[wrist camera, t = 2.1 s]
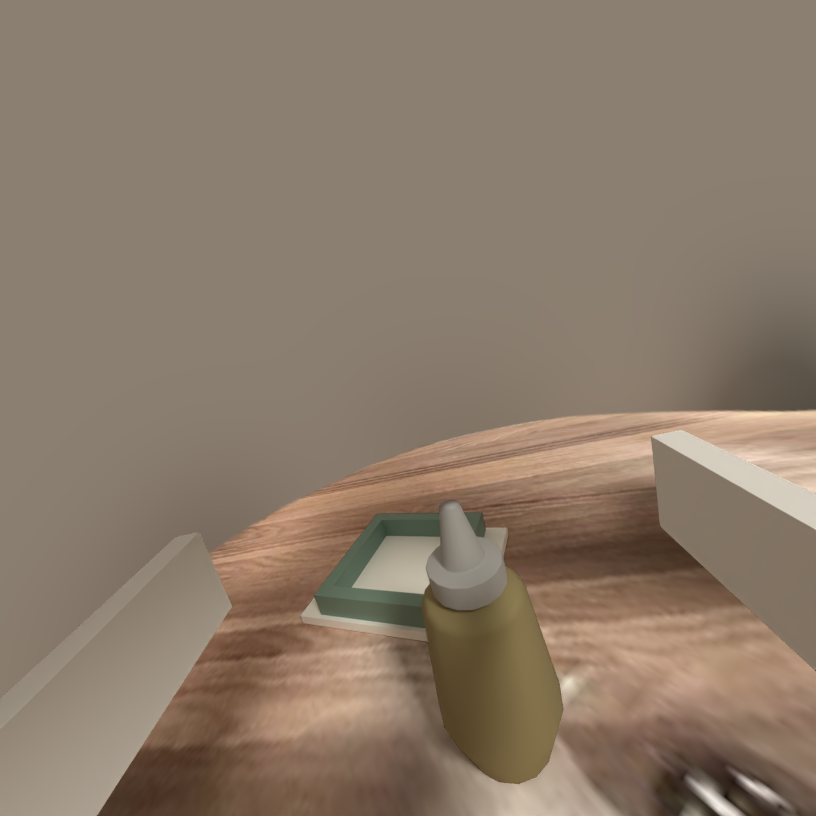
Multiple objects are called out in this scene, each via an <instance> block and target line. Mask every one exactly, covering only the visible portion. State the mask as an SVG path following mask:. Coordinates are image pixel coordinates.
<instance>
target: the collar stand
mask: <svg viewBox="0 0 816 816" xmlns="http://www.w3.org/2000/svg"><path fill="white" fill-rule="evenodd" d="M464 514H465V516H466V518H467V520H468V521H469V523H470V525H471V527H472V529H473V531H474V533H475V535H476V536H477V537H482V538H486V539H488V540H490V541H492V542H493V543H495V544H497V546H498V547H499V549H500V550H501V552H502V554H503V557H504V553H505V548H506V544H507V539H508V530H507V528H486V527H485V523H484V519H483V515H482V512H479V513H464ZM439 546H440V518H439V513H394V514H376V515H375V517H374V518H373V519H372V521H371V522H370V523H369V524H368V526H367V527H366V528H365V530H364V531H363V532H362V534H361V535H360V536H359V537H358V539H357V540H356V541H355V543H354V544H353V545H352V547H351V548H350V549H349V550H348V552H347V553H346V554H345V556H344V557H343V558H342V559H341V561H340V562H339V563H338V565H337V566H336V567H335V569H334V570H333V571H332V572H331V574H330V575H329V576H328V578H327V579H326V580H325V582H324V583H323V584H322V585H321V587H320V588H319V589H318V591H317V592H316V593H315V594H314V598H313V600H312V601H311V602H310V604H309V605H308V606H307V608H306V609H305V610H304V611H303V613H302V614H301V615H300V617H301V619H302V622H303V623H305V624H311V625H318V626H325V627H332V628H338V629H345V630H352V631H359V632H365V633H372V634H379V635H386V636H392V637H399V638H406V639H413V640H419V641H426V642H428V640H427V635H426V629H425V624H424V618H423V612H422V607H421V604H422V600H423V596H424V591H425V589H426V588H427V586H428V585H429V584H430V582H429V578H428V575H427V571H426V564H427V561H428V557H429V556H430V555H431V554H432V552H433V551H434V550H435V549H436V548H437V547H439Z"/></svg>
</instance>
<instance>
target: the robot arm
mask: <svg viewBox="0 0 816 816" xmlns="http://www.w3.org/2000/svg"><path fill="white" fill-rule="evenodd" d="M651 441H652V451H653V461H654V471H655V481H656V491H657V501H658V512H659V522H660V527H661V528H662V529H663V530H665V531H666V532H667V533H668V534H669V535H670V536H671V537H672V538H673V539H674V540H675V541H676V542H677V543H679V544H680V545H681V546H682V547H683V548H684V549H685V550H686V551H687V552H688V553H689V554H690V555H691V556H693V557H694V558H695V559H696V560H697V561H698V562H699V563H700V564H701V565H702V566H703V567H704V568H705V569H706V570H708V571H709V572H710V573H711V574H712V575H713V576H714V577H715V578H716V579H717V580H718V581H719V582H720V583H722V584H723V585H724V586H725V587H726V588H727V589H728V590H729V591H730V592H731V593H732V594H733V595H734V596H736V597H737V598H738V599H739V600H740V601H741V602H742V603H743V604H744V605H745V606H746V607H747V608H748V609H750V610H751V611H752V612H753V613H754V614H755V615H756V616H757V617H758V618H759V619H760V620H761V621H762V622H763V623H765V624H766V625H767V626H768V627H769V628H770V629H771V630H772V631H773V632H774V633H775V634H776V635H777V636H779V637H780V638H781V639H782V640H783V641H784V642H785V643H786V644H787V645H788V646H789V647H790V648H791V649H793V650H794V651H795V652H796V653H797V654H798V655H799V656H800V657H801V658H802V659H803V660H804V661H805V662H807V663H808V664H809V665H810V666H811V667H812V668H813V669H814V670H815V671H816V494H815V493H813V492H811V491H809V490H807V489H804V488H802V487H800V486H798V485H796V484H794V483H792V482H790V481H788V480H786V479H783V478H781V477H779V476H777V475H775V474H773V473H771V472H769V471H767V470H765V469H763V468H760V467H758V466H756V465H754V464H752V463H750V462H748V461H746V460H744V459H742V458H739V457H737V456H735V455H733V454H731V453H729V452H727V451H725V450H723V449H721V448H718V447H716V446H714V445H712V444H710V443H708V442H706V441H704V440H702V439H700V438H697V437H695V436H693V435H691V434H689V433H687V432H685V431H683V430H678V431H673V432H668V433H664V434H659V435H654V436H651ZM231 607H232V605H231V603H230V601H229V598H228V596H227V594H226V592H225V589H224V587H223V585H222V582H221V580H220V578H219V576H218V573H217V571H216V569H215V567H214V564H213V562H212V560H211V557H210V555H209V553H208V551H207V549H206V546H205V544H204V542H203V539H202V537H201V535H200V533H199V532H196V533H192V534H187V535H183V536H178V537H176V538H174V539H173V540H172V541H171V542H170V543H169V544H168V545H167V546H166V547H165V548H164V549H163V550H161V551H160V552H159V553H158V554H157V555H156V556H155V557H154V558H153V559H152V560H150V561H149V562H148V563H147V564H146V565H145V566H144V567H143V568H142V569H141V570H140V571H139V572H137V573H136V574H135V575H134V576H133V577H132V578H131V579H130V580H129V581H128V582H127V583H126V584H124V585H123V586H122V587H121V588H120V589H119V590H118V591H117V592H116V593H115V594H114V595H112V597H110V598H109V599H108V600H107V601H106V602H105V603H104V604H103V605H102V606H101V607H99V608H98V609H97V610H96V611H95V612H94V613H93V614H92V615H91V616H90V617H89V618H88V619H87V620H85V622H83V623H82V624H81V625H80V626H79V627H78V628H77V629H76V630H75V631H73V632H72V633H71V634H70V635H69V636H68V637H67V638H66V639H65V640H64V641H63V642H62V643H60V645H58V646H57V647H56V648H55V649H54V650H53V651H52V652H51V653H50V654H49V655H47V656H46V657H45V658H44V659H43V660H42V661H41V662H40V663H39V664H38V665H37V666H35V667H34V668H33V669H32V670H31V671H30V672H29V673H28V674H27V675H26V676H25V677H24V678H22V679H21V680H20V681H19V682H18V683H17V684H16V685H15V686H14V687H13V688H12V689H11V690H9V691H8V692H7V694H5V695H4V696H3V697H2V698H1V699H0V816H97V815H98V813H99V812H100V810H101V809H102V807H103V806H104V804H105V803H106V801H107V799H108V798H109V796H110V795H111V793H112V792H113V790H114V789H115V787H116V785H117V784H118V782H119V781H120V779H121V778H122V776H123V775H124V773H125V772H126V770H127V768H128V767H129V765H130V764H131V762H132V761H133V759H134V758H135V756H136V754H137V753H138V751H139V750H140V748H141V747H142V745H143V744H144V742H145V741H146V739H147V737H148V736H149V734H150V733H151V731H152V730H153V728H154V727H155V725H156V723H157V722H158V720H159V719H160V717H161V716H162V714H163V713H164V711H165V710H166V708H167V706H168V705H169V703H170V702H171V700H172V699H173V697H174V696H175V694H176V692H177V691H178V689H179V688H180V686H181V685H182V683H183V682H184V680H185V679H186V677H187V675H188V674H189V672H190V671H191V669H192V668H193V666H194V665H195V663H196V661H197V660H198V658H199V657H200V655H201V654H202V652H203V651H204V649H205V648H206V646H207V644H208V643H209V641H210V640H211V638H212V637H213V635H214V634H215V632H216V630H217V629H218V627H219V626H220V624H221V623H222V621H223V620H224V618H225V617H226V615H227V613H228V612H229V610H230V609H231Z"/></svg>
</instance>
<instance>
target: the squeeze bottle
mask: <svg viewBox="0 0 816 816" xmlns="http://www.w3.org/2000/svg"><path fill="white" fill-rule="evenodd" d="M439 518H440V546H439V547H437V548H436V549H435V550H434V551H433V552H432V554H431V555H430V556H429V557H428V561H427V564H426V571H427V575H428V578H429V582H430V584H429V585H428V586H427V588H426V589H425V591H424V596H423V600H422V604H421V607H422V612H423V618H424V624H425V629H426V635H427V640H428V646H429V651H430V657H431V662H432V668H433V673H434V679H435V684H436V690H437V695H438V701H439V706H440V710H441V714H442V718H443V722H444V727H445V729H446V730H447V731H448V733H449V734H450V736H451V737H452V738H453V740H454V741H455V743H456V744H457V745H458V747H459V748H460V749H461V750H462V751H463V752H464V753H465V754H466V755H467V756H468V757H469V758H470V759H471V760H472V761H473V762H474V763H475V764H476V765H477V766H478V767H479V768H480V769H481V770H482V772H484V773H486V774H487V775H489V776H491V777H492V778H494V779H495V780H497V781H499V782H504V783H514V784H520V783H522V782H525V781H527V780H530V779H532V778H535V777H537V775H538V774H539V773H540V772H541V771H542V769H543V768H544V767H545V766H546V765H547V764H548V762H549V759H550V755H551V752H552V748H553V745H554V742H555V738H556V735H557V731H558V727H559V724H560V720H561V716H562V713H563V703H562V697H561V690H560V684H559V681H558V678H557V675H556V672H555V669H554V667H553V664H552V661H551V658H550V655H549V652H548V649H547V646H546V643H545V640H544V638H543V635H542V632H541V629H540V626H539V623H538V620H537V617H536V614H535V612H534V609H533V606H532V603H531V600H530V597H529V594H528V591H527V588H526V585H525V584H524V583H523V581H522V580H521V578H520V577H519V575H518V574H517V572H515V571H514V570H512V569H510V568H509V567H507V566H506V565H505V563H504V558H503V554H502V552H501V550H500V549H499V547H498V546H497V544H495V543H493V542H492V541H490V540H488V539H486V538H482V537H477V536H476V535H475V533H474V531H473V529H472V527H471V525H470V523H469V521H468V520H467V518H466V516H465V514H464V512H463V510H462V508H461V506H460V504H459V502H458V501H456V500H449V501H446V502H443V503H442V504H441V505H440V507H439Z"/></svg>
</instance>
